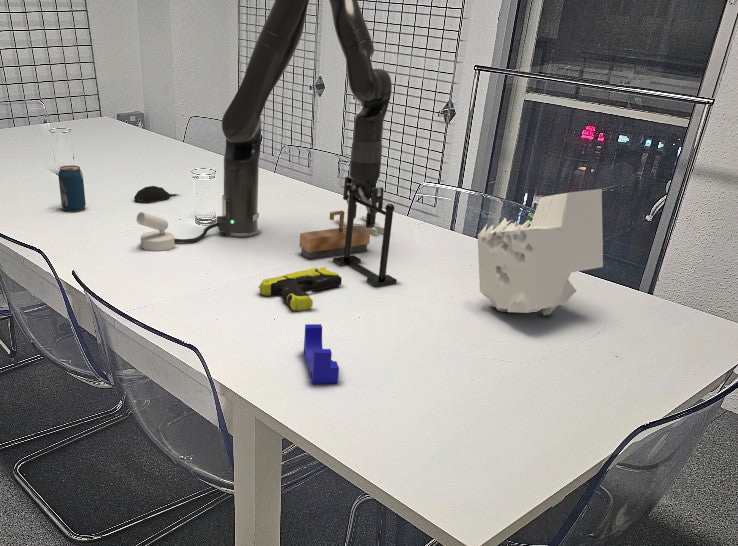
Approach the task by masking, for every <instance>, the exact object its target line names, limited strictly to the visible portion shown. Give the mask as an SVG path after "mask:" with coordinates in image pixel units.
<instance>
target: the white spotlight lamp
mask: <svg viewBox="0 0 738 546" xmlns="http://www.w3.org/2000/svg"><path fill="white" fill-rule="evenodd" d="M135 220H136V223H137V225H141V226H143V227H147V228H150V229H154V230H152V231H146V232H143V233H142V234H141V235H140V247H141V248H142V249H144V250H145V251H151V252H164V251H168V250H171V249H173V248H174V247H175V242H174V239H175V234H173V233H172V232H170V231H166V230H167V229H168V228H169V222H168V221H167V220H166V219H164V218H163V217H159V216H155V215H152V214H149V213H146V212H143V211H140V212H138V213H137V215H136V219H135Z"/></svg>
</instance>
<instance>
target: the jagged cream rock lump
mask: <svg viewBox="0 0 738 546" xmlns="http://www.w3.org/2000/svg"><path fill="white" fill-rule="evenodd" d="M510 222H511V220H508V221H507V218H506V217H504V218H503V219H502V220H501V222H500V223H499V224H498V225H497V226H496V227H495V228H494V226H495V225H494V224H491V225H490V226H489V227H488V229H487V226H488V223H486V224H485V225H484V226H483V228H482V229H481V231H480V232H479V233H477V255H478V278H479V293H481V294H482V295H483V296H484V297H485V298H487V299H488V300H489V301H490V302H491V306H492V307H494V308H495V309H496V310H497V311H498V312H508V313H523V314H529V313H537V312H539V311H542V313H543V317H545V316H549V315H550V314H551V313H552V312H553V311H554V310H555V309H556V308H558V306H559V305H560V306H562V305H565V304H566V303H567V302H568V301H569V300H570V298H572V296H573V295H574V294H576V292H577V291H578V290H577V289H576V288H575V287H574V285H573V284H572V283H571V282H570V280H569V278H570V276H571V274H572V273H577V272H583V271H587V270H593V269H599V268H603V267H604V247H603V246H604V245H603V243H604V242H603V237H604V236H603V189H602V188H597V189H588V190H580V191H578V190H577V191H570V192H564V193H557V194H553V195H552V194H551V195H546V196H540V197H539V200H538V203H537V206H536V209H535V211H534V214H533V216H532V219H531V221H530V219H529V220H527V221H525V222H524V223H523V224H517V223H518V221H515V222H511V223H510ZM529 225H530V226H529Z"/></svg>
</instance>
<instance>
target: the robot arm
mask: <svg viewBox="0 0 738 546" xmlns="http://www.w3.org/2000/svg"><path fill="white" fill-rule="evenodd" d="M309 2H310V0H274V2H273V4H272V7H271V9H270V11H269V13H268V16H267V18H266V20H265V22H264V24H263V26H262V29H261V30H260V32H259V35H258V36H257V37H258V38H257V40H256V42H255V45H254V48H253V50H252V53H251V55H250V58H249V61H248V64H247V67H246V70H245V72H244V76H243V78H242V81H241V83H240V85H239V87H238V88H237V89H238V90H237V91H236V93H235V94H234V96H233V99H232V100H231V102H230V104H229V105H228V107H227V108H226V110H225V112H224V113H223V116H222V119H221V130H222V133H223V135H224V137H225V150H224V155H223V194H222V195H221V199H222V200H221V204H222V205H221V207H222V211H221V213H222V215H217V216H216V222H215V223H212V224H210V225H207V226H206V227H205V228H204V229H203V231H202V233H200V234H199V235H198V236H196V237H193V238H174V243H178V244H190V243H197V242H198V241H199V242H200V240H202V239H203V238H204V237H205V236H206V235H207V233H208V231H210V230H211V229H214V228H217V229H218V232H219V233H220V232H221V233H222V232H223V233H224V235H225V236H226V237H227V236H230V237H231V236H232V237H238V238H239V237H240V238H243V237H244V238H245V237H252V236H255V235H257V234H258V230H259V228H258V219H260V213H259V212H258V211H259V165H260V156H261V144H262V143H261V141H262V140H261V139H262V117H261V116H262V113H263V110H264V109H265V105H266V103H267V101H268V99H269V97H270V94H271V93H272V91H273V90H274V88H275V86H276V85H277V84H278V83H279V81H280V79H281V77H282V76H283V74H284V73H285V71H286V69H287V68H288V66H289V64H290V62H291V60H292V58H293V56H294V54H295V52H296V50H297V47H298V45H299V43H300V41H301V39H302V36H303V32H304V28H305V23H306V16H307V11H308V7H309ZM329 4H330V9H331V15H332V23H333V26H334V31H335V34H336V37H337V40H338V43H339V46H340V48H341V51H342V54H343V56H344V58H345V63H346V65H345V66H346V72H347V80H348V85H349V89H350V92H351V94H352V95H353V97H354V98H355V99H356V101H358V102H359V103H361V104H362V107H361V110H360V111H359V113H357V114H356V115H355V117H354V122H353V135H352V143H351V148H350V163H349V173H348V174H349V176H345V177H344V186H343V195H342V200H343V201H345V202H346V204H347V205H348V204H349V189H350V188H356V189H357V194H356V198H357V199H359V200H362V201H364V202H366V203H368V204H370V205H373V206H375V207H377V208H379V209H381V210H383V205H384V187H383V186H381V187H377V186H376V181H377V180H378V179H379V178H380V177H381V168H382V167H381V166H382V165H381V164H382V156H383V155H382V153H383V131H384V121H385V117H386V115H387V111H388V108H389V104H390V100H391V97H392V90H393V86H392V85H393V84H392V79H391V76H390V74H389V73H388V72H387V70H385V69H383V68H373V65H372V59H371V57H372V56H373V55H374V53H375V46H374V43H373V40H372V36H371V33H370V31H369V29H368V26H367V23H366V20H365V18H364V14H363V12H362V9H361V6H360V5H359V1H358V0H329ZM357 207H358V203H357V202H355V212H354V220H355V219H356V218H357V210H358V209H357ZM365 209H366V216H365V217H366V221H365V222H366V227H367V228H373V227H374V225H375V224H376V215H377V213H378V212H377V211H375V210H373V209H370V208H368V207H366V206H365ZM346 214H347V215H348V212H347V213H346Z"/></svg>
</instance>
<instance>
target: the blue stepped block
mask: <svg viewBox="0 0 738 546" xmlns="http://www.w3.org/2000/svg"><path fill="white" fill-rule="evenodd" d="M332 353H333V352H332V349H331V348H324V347H323V325H322V324H321V323H308V324H304V341H303V357H304V360H305V363H306V366H307V370H308V374H309V376H310V380H311V383H312V384H315V385H317V384H338V383H339V382H338V381H339V371H340V367H339V364H338V362H337V360H333V359H332V355H333V354H332Z"/></svg>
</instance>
